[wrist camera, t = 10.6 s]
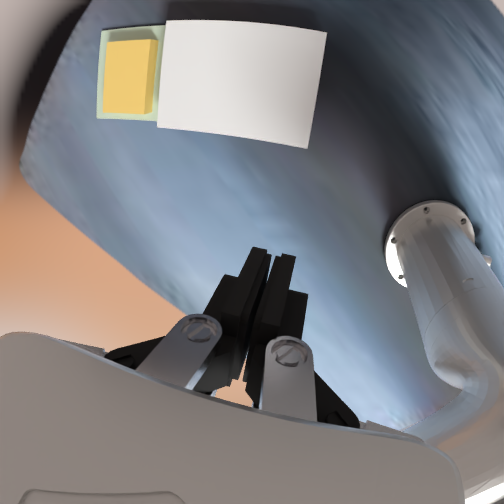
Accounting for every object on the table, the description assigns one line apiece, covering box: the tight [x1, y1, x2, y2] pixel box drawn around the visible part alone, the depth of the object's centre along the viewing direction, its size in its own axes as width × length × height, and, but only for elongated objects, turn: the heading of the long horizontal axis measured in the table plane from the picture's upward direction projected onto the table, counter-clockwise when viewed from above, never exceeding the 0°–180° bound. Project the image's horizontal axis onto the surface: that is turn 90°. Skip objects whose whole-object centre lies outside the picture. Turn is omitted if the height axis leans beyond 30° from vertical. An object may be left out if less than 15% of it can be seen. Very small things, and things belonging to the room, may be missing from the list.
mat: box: [97, 25, 166, 121], centre depth 33 cm, size 11×12×1 cm
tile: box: [103, 39, 159, 114], centre depth 32 cm, size 6×9×2 cm, turn 173°
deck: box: [157, 20, 327, 149], centre depth 30 cm, size 16×12×4 cm
